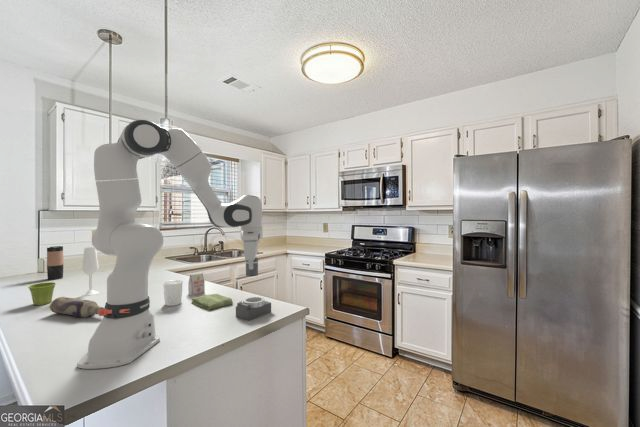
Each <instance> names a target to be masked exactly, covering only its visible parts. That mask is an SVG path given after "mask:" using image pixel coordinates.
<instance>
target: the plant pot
mask: <svg viewBox="0 0 640 427" xmlns="http://www.w3.org/2000/svg"><path fill="white" fill-rule="evenodd" d="M56 285H57V282H54V281H50V282H40V283H35V284H31V285H28V286H27V288H28V289H29V292H30V294H31V299H32V304H33V305H34V306H42V305H47V304H51V303H52V301H53V295H54V292H55V291H54V289H55V287H56Z"/></svg>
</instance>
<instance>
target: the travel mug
mask: <svg viewBox="0 0 640 427" xmlns="http://www.w3.org/2000/svg"><path fill="white" fill-rule="evenodd" d="M46 270H47V271H46V273H47V281H56V280H61V279H63V278H64V246H62V245H59V246H49V247H46Z"/></svg>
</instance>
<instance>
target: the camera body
mask: <svg viewBox="0 0 640 427" xmlns="http://www.w3.org/2000/svg"><path fill="white" fill-rule="evenodd" d="M270 313H272V302H270V301H266V300H265V298H264V297H262V296H250V297H245V298H244V299H242V300H238V302H237V303H236V306H235V317H236V318H240V319H242V320H245V321H247V322H248V321H252V320H255V319H257V318H260V317H262V316H264V315H268V314H270Z"/></svg>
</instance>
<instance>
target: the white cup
mask: <svg viewBox="0 0 640 427" xmlns="http://www.w3.org/2000/svg"><path fill="white" fill-rule="evenodd" d="M162 286H163V298H164V305H165V306H166V307H174V306H179V305H181V304H182V296H183V280H181V279H174V280H173V279H172V280H167V281H164V282H163V284H162Z"/></svg>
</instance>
